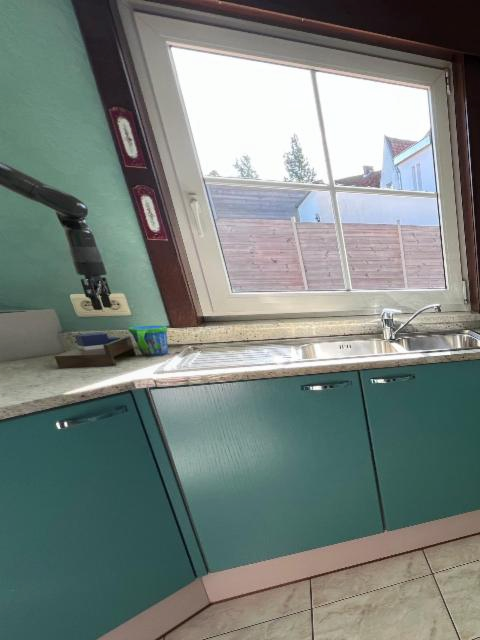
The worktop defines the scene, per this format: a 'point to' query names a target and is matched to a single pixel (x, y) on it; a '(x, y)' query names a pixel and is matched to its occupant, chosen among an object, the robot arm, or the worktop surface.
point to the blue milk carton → (93, 341)
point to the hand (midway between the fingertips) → (103, 308)
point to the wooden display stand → (96, 355)
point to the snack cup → (151, 339)
